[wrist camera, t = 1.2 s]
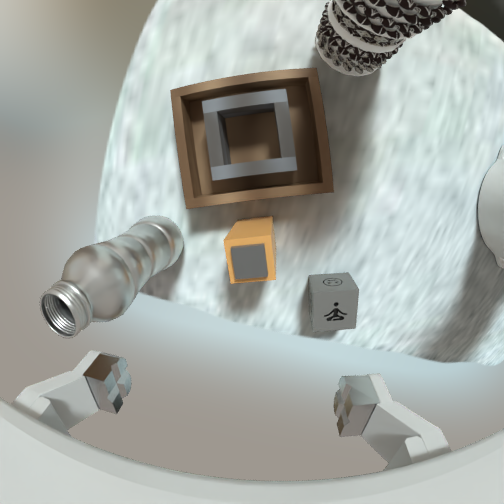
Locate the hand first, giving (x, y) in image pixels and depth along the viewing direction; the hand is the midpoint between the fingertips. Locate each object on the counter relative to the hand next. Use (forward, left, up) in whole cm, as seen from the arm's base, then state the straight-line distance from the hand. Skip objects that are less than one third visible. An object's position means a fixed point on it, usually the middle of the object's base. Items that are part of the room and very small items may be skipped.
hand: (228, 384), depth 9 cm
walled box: (0, -11, -24) cm, 27 cm away
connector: (+1, 0, -24) cm, 24 cm away
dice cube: (-7, +9, -25) cm, 27 cm away
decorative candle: (-13, -22, -25) cm, 35 cm away
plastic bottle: (+12, -1, -25) cm, 27 cm away
